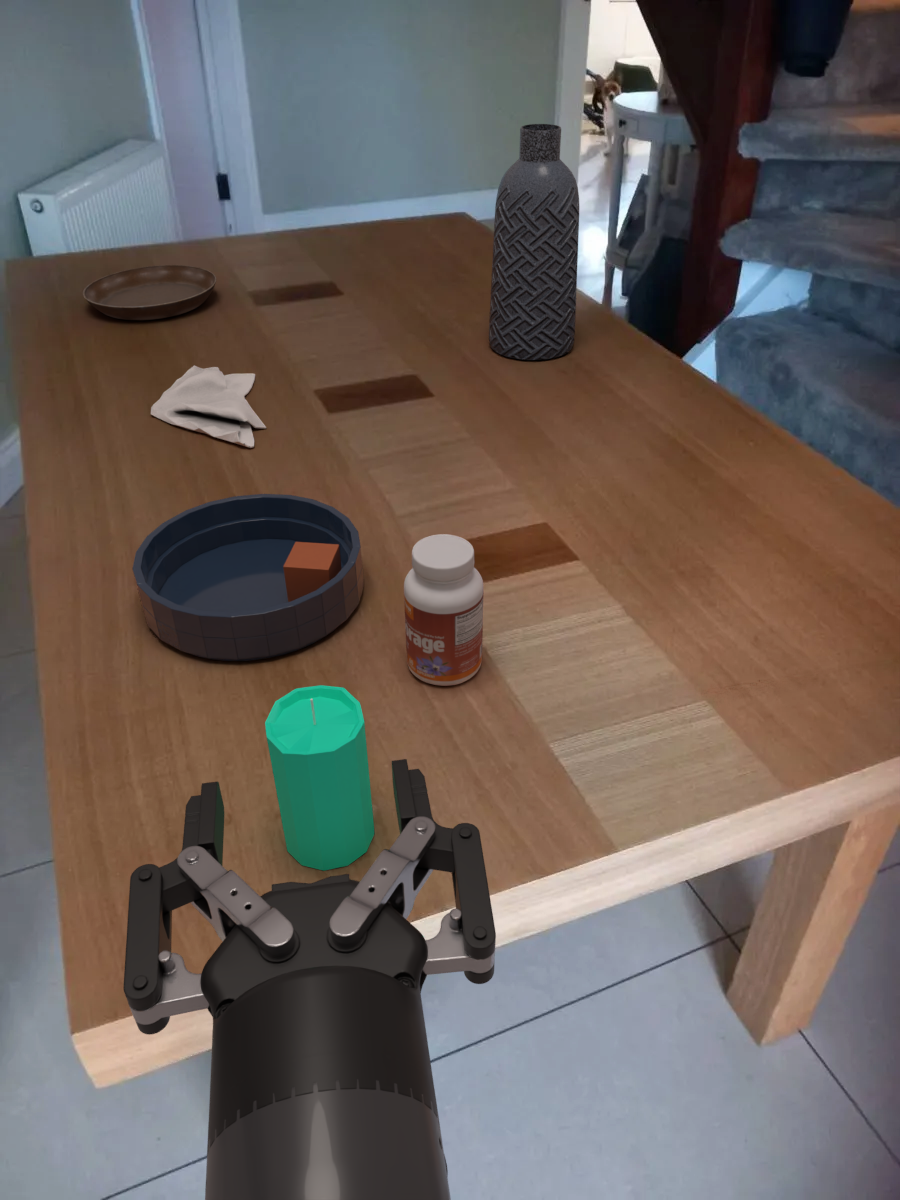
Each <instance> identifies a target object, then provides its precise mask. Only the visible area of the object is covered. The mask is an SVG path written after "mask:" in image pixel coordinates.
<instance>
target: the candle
mask: <svg viewBox="0 0 900 1200" xmlns="http://www.w3.org/2000/svg"><path fill="white" fill-rule="evenodd" d="M273 703H274V704H273V706H272V707H271V709H270V712H269V714H268V716H267V718H266V720H265V722H264V726H265V727H264V728H265V737H266V742H267V748H268V753H269V759H270V763H271V769H272V776H273V781H274V786H275V787H274V788H275V792H276V797H277V802H278V808H279V814H280V818H281V824H282V830H283V835H284V842H285V846H286V852H287V853H288V854H289V855H291V856H292V858H294V860H295V861H297V863H298V864H299V865H300V866H303V867H307V868H311V869H315V870H319V871H323V872H324V871H325V872H326V871H328V870H333V869H334V870H335V869H339V868H344V867H348V866H349V865H351V864H353V863H354V862H355V861H357V860H358V859H359V858H361V857H363V855H365V854H366V853H367V852H368V851H369V848H370V846H371V843H372V841H373V838H374V836H375V834H376V833H375V821H374V812H373V811H374V810H373V800H372V790H371V789H372V788H371V779H370V767H369V757H368V745H367V744H368V743H367V735H366V723H365V719H364V714H363V710H362V706H361V702H360V701H359V700H358V699H357V698H355V697H354V695H353V694H351V693H350V692H349V691H348V690H347V689H346V688H345V687H343V686H341V687H340V686H333V685H323V684H318V685H313V686H304V687H298V688H294V689H293V690H291V691H290V692H288V693H286V694H285V695H283V696H282V697H279V699H277V700H275V701H274V702H273Z"/></svg>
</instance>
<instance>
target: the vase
mask: <svg viewBox="0 0 900 1200" xmlns="http://www.w3.org/2000/svg"><path fill="white" fill-rule="evenodd" d="M561 142H562V127H561V126H560V125H556V124H552V123H551V124H550V123H530V124H524V125H522V126H520V129H519V150H518V151H519V152H518V153H519V155H518V157H519V158H518V159H516V161H515V162H514V163H512V164H511V166H509V168H507V170H506V171H505V172H504V174H503V176H502V178H501V179H500V182H499V185H498V188H497V193H496V199H495V206H494V222H493V223H494V226H493V243H492V260H491V261H492V262H491V263H492V264H491V281H490V282H491V283H490V300H489V301H490V302H489V303H490V304H489V320H488V342H489V346H490V348H491V349H492V351H494V352H495V353H497V354H499V355H501V356H503V357H507V358H510V359H516V360H522V361H523V360H524V361H540V360H542V361H543V360H549V359H550V360H551V359H555V358H558V357H561V356H564V355H566V354H567V353H569V352H570V351H571V350H572V349H573V346H574V343H575V337H576V336H575V335H576V316H577V315H576V314H577V313H576V312H577V290H578V289H577V287H578V284H577V283H578V261H579V259H578V258H579V257H578V256H579V232H580V194H579V187H578V183H577V180H576V177H575V175H574V174H573V172H572V170H571V169H570V168H569V167H568V166H567V165H566V164H565V163H564V161H562V159H561V144H562V143H561Z"/></svg>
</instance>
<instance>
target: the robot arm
mask: <svg viewBox="0 0 900 1200" xmlns="http://www.w3.org/2000/svg"><path fill="white" fill-rule="evenodd" d="M391 778H392V789H393V797H394V802H395V803H394V804H395V810H396V817H397V824H398V830H399V831H398V832H399V835H398V837H397V838H396V839H395V841H394V842H393V843H392V845H391V846H390V847H389V849H388V848H384V849H383V850H382V851H380V853H379V854H378V856H377V857H376V859H375V860H374V862H373V863H372V864H371V866H370V867H369V868H368V870H367V871H366V873H365V874H364V875H363V876H362V878H361V880H360V881H359V880H356V879H351V877H350V873H345V874H338V875H330V876H328V877H325V878H322V879H319V880H316V881H314V882H300V881H299V882H296V881H287V882H279V883H272V884H271V890H270V891H266V892H265V893H263V894H261V895H259V894H258V893H257V892H256V890H254V889H253V888H252V887H251V886H250V885H249V884H248V883H247V882H246V881H245V880H244V879H243V878H242V877H241V876H239V875H238V873H236V872H235V871H234V870H232V869H229V870H227V869H226V868H225V867H224V866H223V863H224V862H223V861H224V859H223V857H224V837H225V806H224V800H223V796H222V790H221V787H220V782H219V781H211V782H210V781H209V782H203V783H201V785H200V786H201V787H200V794H198V795H191V796H190V797H189V799H188V801H187V803H186V804H185V810H184V812H185V813H184V824H183V834H182V835H183V836H182V846H181V851H180V853H179V854H178V856H177V857H176V858H175V859H174V860H172V861H171V862H169V863H166V864H164V865H161V866H158V865H156V864H154V863H146V864H142V865H140V866H138V867H137V868H135V869H134V870H133V871H132V873H131V875H130V879H129V892H128V908H127V909H128V910H127V925H126V938H125V939H126V942H125V955H124V956H125V958H124V973H123V986H122V987H123V993H124V995H125V998H126V1001H127V1004H128V1007H129V1009H130V1011H131V1012H130V1013H131V1014H132V1017H133V1019H134V1021H135V1023H136V1026H137V1028H138V1031H140V1033H142V1034H144V1035H148V1036H149V1035H155V1034H158V1033H160V1032H162V1030H164V1029H165V1028H166V1027H167V1025H169V1022H170V1019H171V1017H172V1016H177V1015H178V1016H179V1015H182V1014H187V1013H192V1012H196V1011H202V1010H207V1011H208V1012H209V1014H210V1015H211V1017H212V1036H211V1060H210V1080H209V1087H210V1088H209V1102H208V1103H209V1104H208V1105H209V1106H208V1107H209V1108H208V1126H207V1147H206V1168H205V1188H204V1189H205V1191H204V1192H205V1193H204V1194H205V1195H204V1200H451V1191H450V1183H449V1177H448V1175H449V1174H448V1173H449V1172H448V1171H449V1170H448V1164H447V1159H446V1155H445V1152H444V1144H443V1137H442V1131H441V1124H440V1123H441V1122H440V1116H439V1111H438V1103H437V1096H436V1089H435V1084H434V1077H433V1068H432V1063H431V1055H430V1050H429V1049H430V1048H429V1041H428V1035H427V1029H426V1022H425V1013H424V1008H423V1001H422V990H423V986H424V983H425V981H426V979H427V977H428V976H430V975H439V974H451V973H461V972H462V973H464V976H465V978H466V980H467V981H469V982H471V983H472V984H476V985H483V984H487V983H488V982H490V981H491V980H492V978H493V977H494V974H495V965H496V964H495V963H496V962H495V959H496V938H497V934H496V933H497V932H496V926H495V921H494V920H495V919H494V914H493V913H494V912H493V908H492V902H491V896H490V895H491V894H490V889H489V883H488V876H487V870H486V864H485V858H484V857H485V856H484V851H483V845H482V839H481V833H480V832H481V831H480V830H479V828H478V827H477V826H476V825H475V824H472V823H469V822H461V823H458V824H456V825H455V826H454V827H453V828H452V827H446V826H442V825H440V824H439V823H437V822H436V821H435V820H434V818H433V814H432V808H431V804H430V798H429V793H428V788H427V783H426V778H425V775H424V773H423V772H422V771H421V770H420V768H414V769H413V768H412V769H409V764H408V759H407V758H403V759H395V760H391ZM434 871H439V872H446V873H451V880H452V886H453V887H452V888H453V895H454V904H455V908H452V909H451V910H450V911H449V912H448V913H446V914H445V915H444V916H443V917H442V919H441V921H440V929H439V931H438V932H437V934H436V935H435V936H434V937H432V938H429V939H425V937H424V935H423V934H422V932H421V931H420V930H419V929H417V927H415V926H414V925H413V923H411V922H410V921H409V920H408V917H409V916H410V914H411V913H412V911H413V909H414V905H415V901H416V898H417V897H418V895H419V893H420V892H421V891H422V888H423V887H424V885H425V884H426V882H427V881H428V879H429V878H430V876H431V874H432V873H433V872H434ZM189 904H190V905H191V906H192V907H194V909H196V911H197V912H198V913H199V914H200V915H201V916H202V917H203V918H204V919H205V920H206V921H207V922H208V923H209V924H210V926H212V928H213V930H214V932H215V933H216V935H217V937H218V938H219V939H220V940H221V943H220V944H219V945H218V946H217V948H216V950H215V951H213V953H212V954H211V956H210V957H209V958H208V960H207V961H206V963H205V964H204V966H203V968H202V970H201V973H195V972H191V971H190V970H188V968H187V965H186V963H185V959H184V958H183V957H182V955H180V954H179V953H176V952H172V937H173V935H172V934H173V933H172V932H173V930H172V929H173V911H174V910H176V909H180V908H181V907H183V906H186V905H189Z"/></svg>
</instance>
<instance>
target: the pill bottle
mask: <svg viewBox="0 0 900 1200" xmlns="http://www.w3.org/2000/svg"><path fill="white" fill-rule="evenodd" d="M480 573H481V572H479V571H478V569H477V568H476V567H475V549H474V547H473V544H472V543H471V542H469V541H468V540H467V539H465V538H463V537H461V536H458V535H454V534H449V533H445V534H444V533H441V534H440V533H439V534H438V533H437V534H432V535H429V536H425V537H422V538H421V539H419V540H418V541H416V542H415V543H414V545H413V547H412V550H411V569H410V570H409V571H408V572H407V574H406V576H405V578H404V582H403V604H404V624H405V625H404V627H405V651H406V653H405V654H406V656H405V657H406V664H407V667H408V669H409V671H410V672H411V673H412V675H413V676H414V677H416V678H417V679H419V680H420V681H422V682H424V683H426V684H430V685H435V686H445V687H446V686H455V685H460V684H462V683H464V682H466V681H468V680H470V679H471V678H473V677H474V676H475V675H476V674H477V673H478V671H479V670H480V668H481V666H482V661H483V633H484V631H483V630H484V596H485V595H484V594H485V593H484V592H485V591H484V590H485V589H484V588H485V587H484V580H483V577H482V575H481V574H480Z"/></svg>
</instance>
